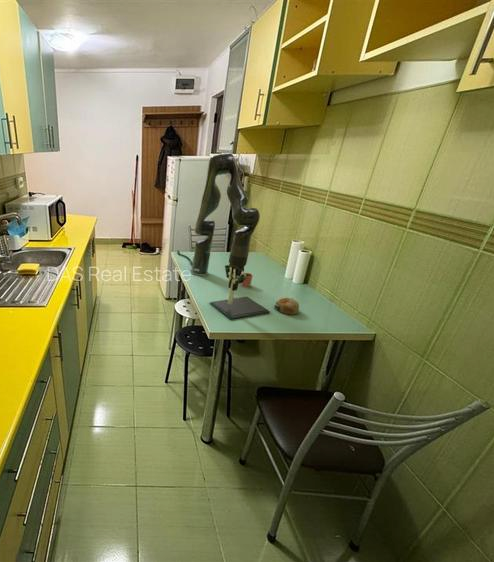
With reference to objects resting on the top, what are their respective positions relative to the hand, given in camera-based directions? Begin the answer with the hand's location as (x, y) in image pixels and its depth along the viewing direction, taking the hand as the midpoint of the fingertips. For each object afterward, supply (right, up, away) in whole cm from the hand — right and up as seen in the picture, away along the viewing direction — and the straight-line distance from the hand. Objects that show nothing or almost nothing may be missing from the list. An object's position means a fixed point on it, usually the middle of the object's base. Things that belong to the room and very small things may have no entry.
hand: (232, 289), depth 141 cm
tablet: (+6, -10, +6) cm, 13 cm away
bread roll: (+28, -11, +6) cm, 30 cm away
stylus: (0, -8, +3) cm, 8 cm away
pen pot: (+19, +1, +31) cm, 36 cm away
